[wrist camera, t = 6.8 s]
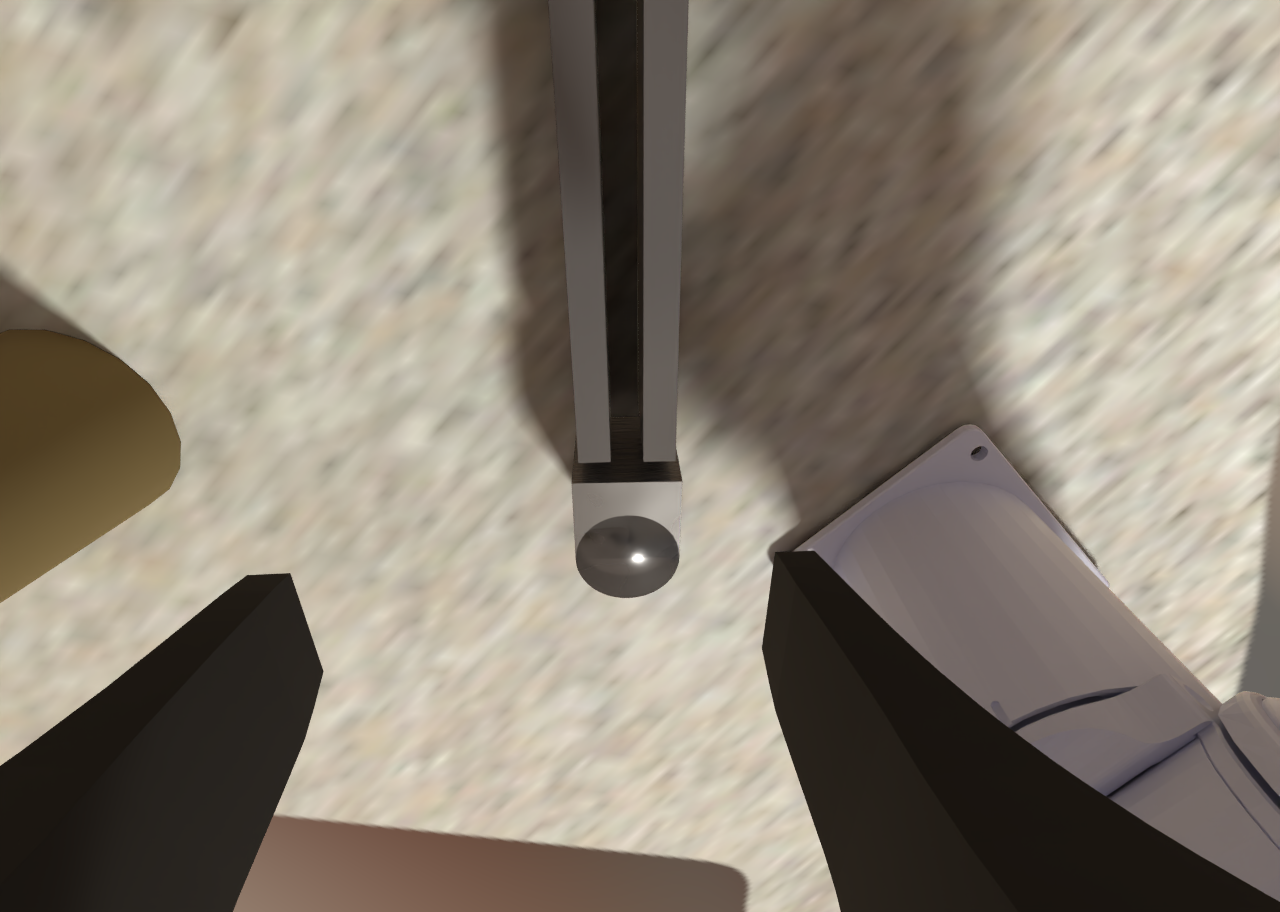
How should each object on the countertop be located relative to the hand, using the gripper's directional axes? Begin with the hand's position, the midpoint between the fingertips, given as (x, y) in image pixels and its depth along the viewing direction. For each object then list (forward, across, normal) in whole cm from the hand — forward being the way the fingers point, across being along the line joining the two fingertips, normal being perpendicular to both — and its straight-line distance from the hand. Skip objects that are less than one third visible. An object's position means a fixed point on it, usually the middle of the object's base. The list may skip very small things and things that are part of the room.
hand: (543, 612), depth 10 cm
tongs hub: (+10, -2, +4) cm, 11 cm away
